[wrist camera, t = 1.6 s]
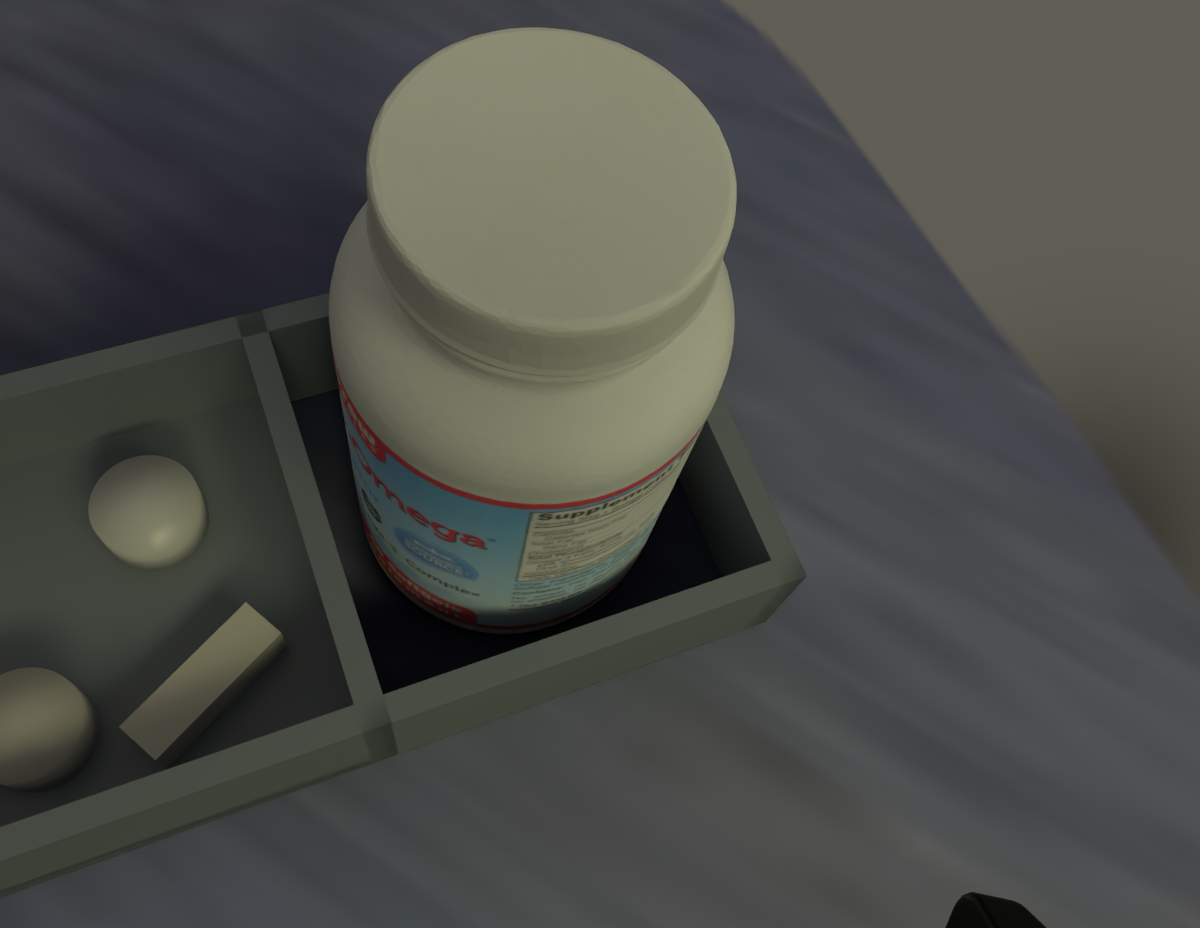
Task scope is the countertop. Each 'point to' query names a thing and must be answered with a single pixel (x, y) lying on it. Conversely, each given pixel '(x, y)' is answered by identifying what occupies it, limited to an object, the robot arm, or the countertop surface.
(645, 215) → the pill bottle
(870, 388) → the countertop surface
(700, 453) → the tray
